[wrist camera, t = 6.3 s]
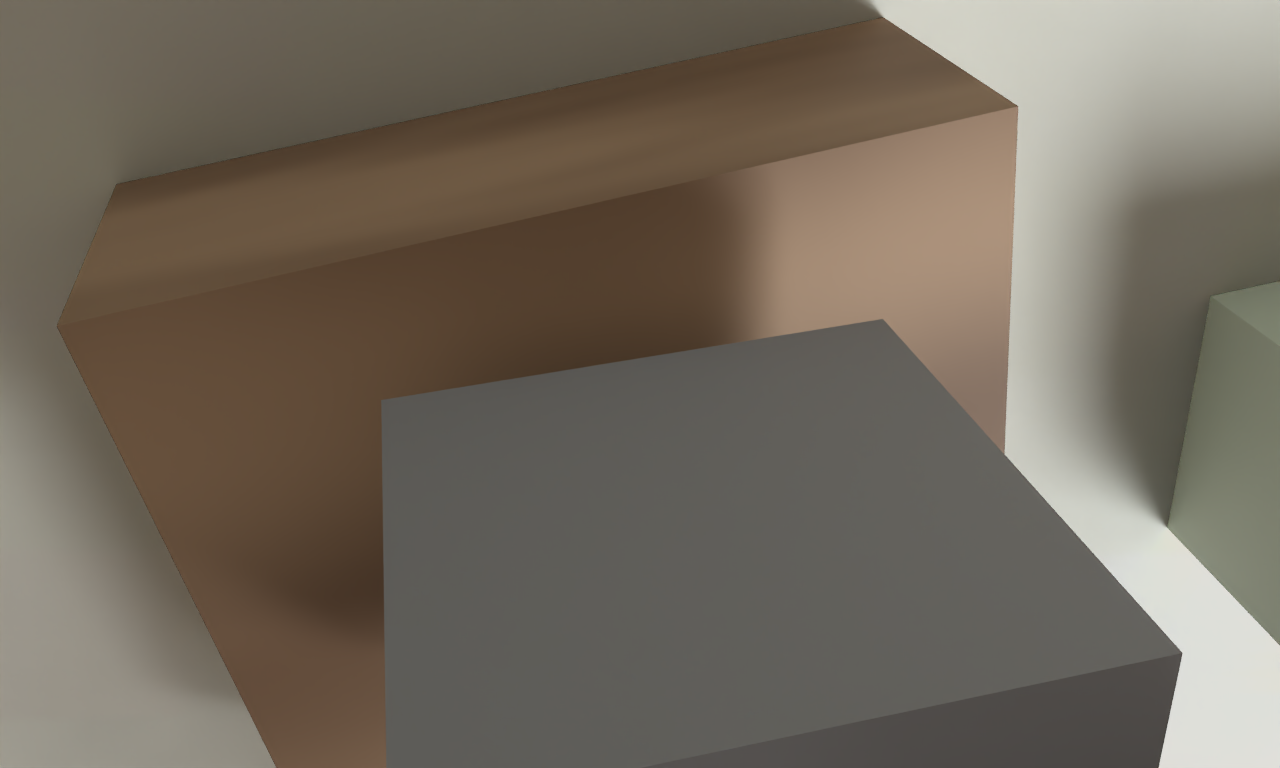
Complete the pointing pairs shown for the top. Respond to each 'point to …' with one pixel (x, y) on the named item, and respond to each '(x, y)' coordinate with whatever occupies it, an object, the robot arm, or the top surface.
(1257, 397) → the sage cube
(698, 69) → the walnut block
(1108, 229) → the top surface
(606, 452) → the gray cube
